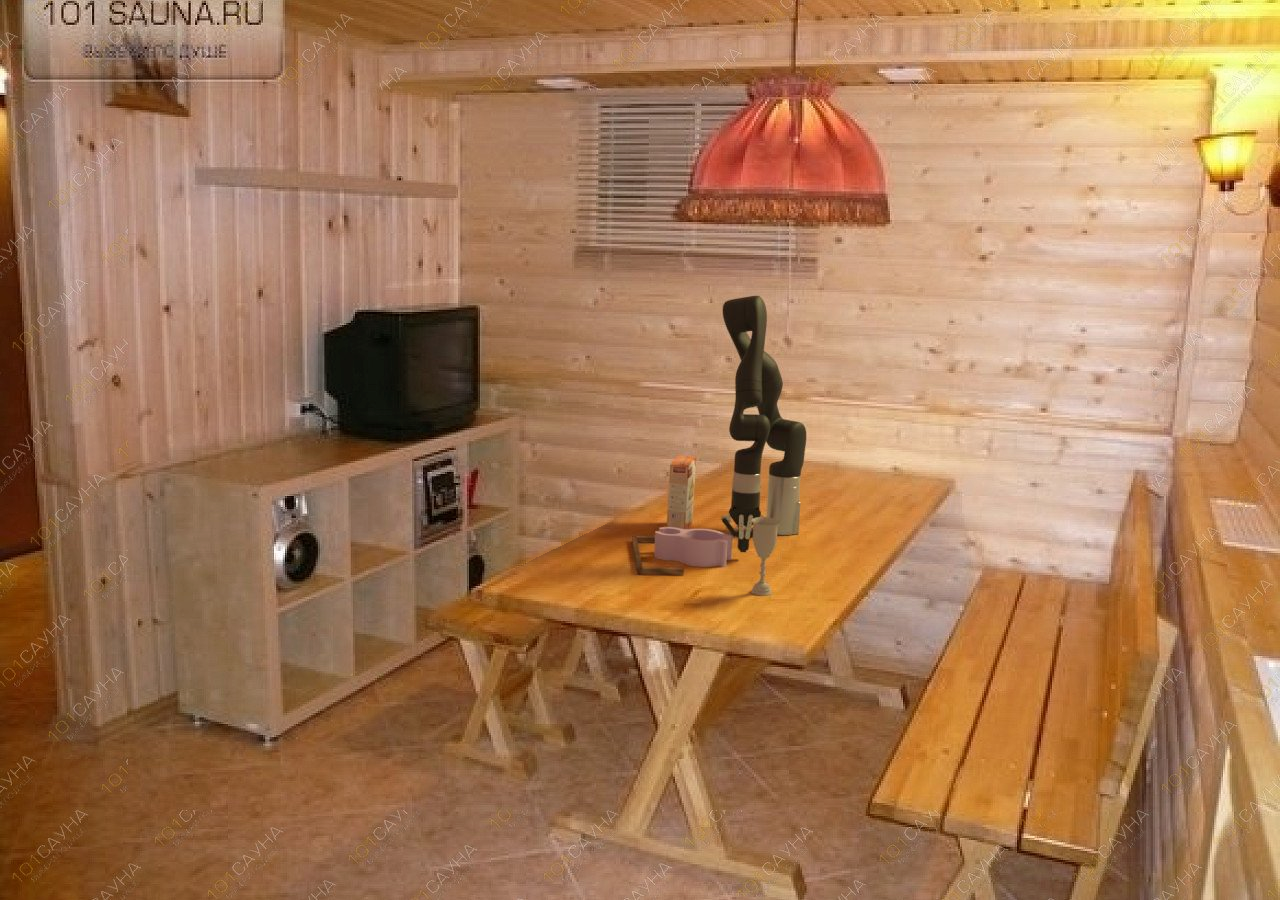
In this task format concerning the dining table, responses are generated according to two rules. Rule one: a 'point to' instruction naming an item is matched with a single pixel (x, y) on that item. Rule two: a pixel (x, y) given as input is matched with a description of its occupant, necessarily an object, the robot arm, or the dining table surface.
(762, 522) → the chalice
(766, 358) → the robot arm
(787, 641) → the dining table surface
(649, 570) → the walnut frame
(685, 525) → the cracker box
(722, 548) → the clip
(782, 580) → the dining table surface
